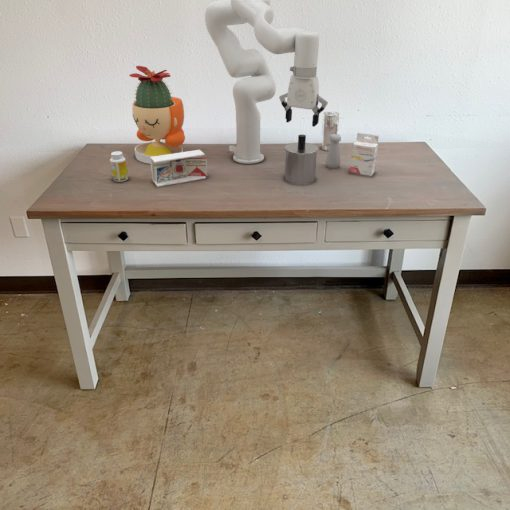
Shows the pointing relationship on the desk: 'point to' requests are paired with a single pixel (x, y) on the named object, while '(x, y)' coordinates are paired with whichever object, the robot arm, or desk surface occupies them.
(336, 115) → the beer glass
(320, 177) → the desk surface
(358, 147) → the ink cartridge box
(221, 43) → the robot arm
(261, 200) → the desk surface
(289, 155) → the canister
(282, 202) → the desk surface
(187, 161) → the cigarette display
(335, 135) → the salt shaker
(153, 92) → the potted cactus
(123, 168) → the supplement bottle
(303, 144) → the canister lid
